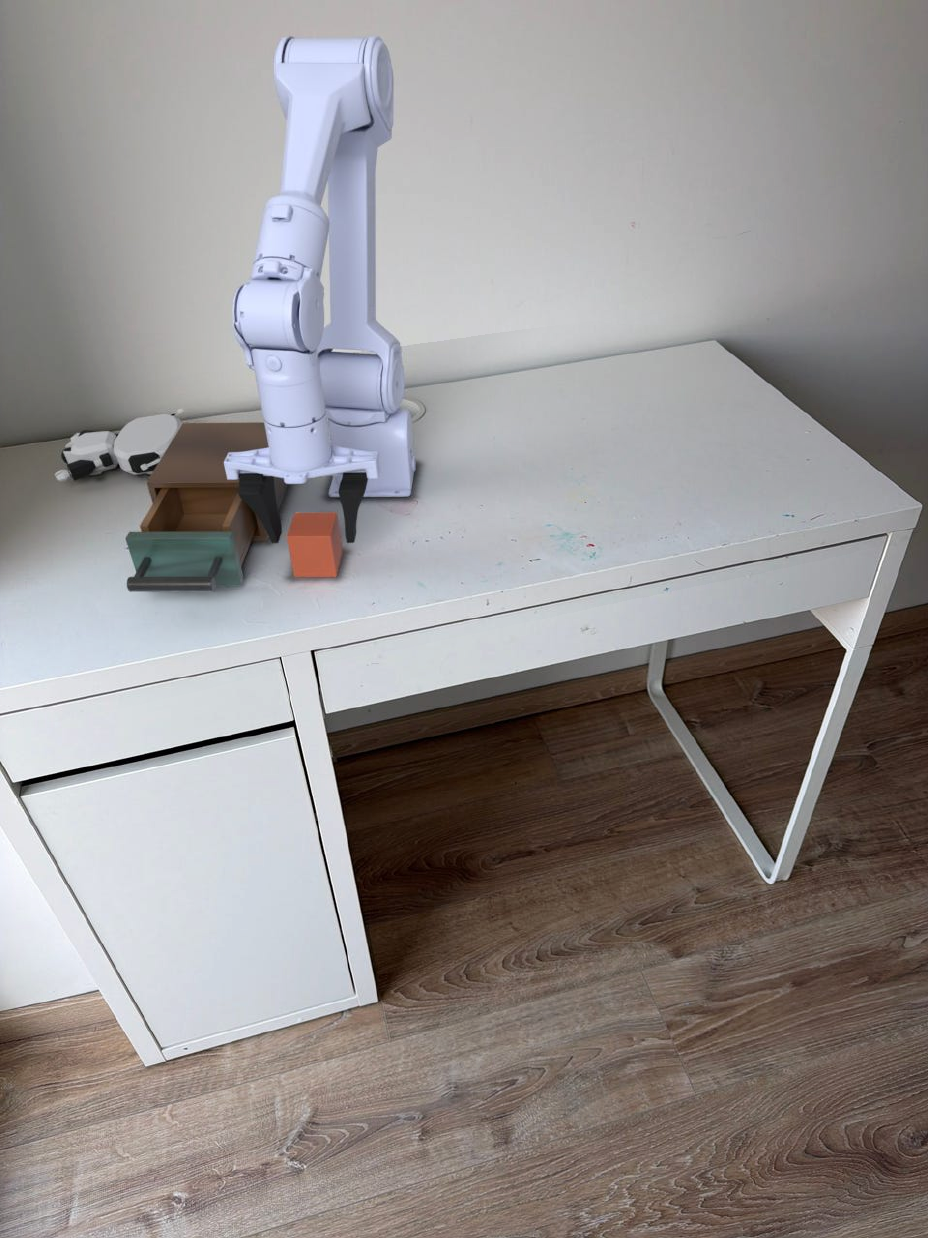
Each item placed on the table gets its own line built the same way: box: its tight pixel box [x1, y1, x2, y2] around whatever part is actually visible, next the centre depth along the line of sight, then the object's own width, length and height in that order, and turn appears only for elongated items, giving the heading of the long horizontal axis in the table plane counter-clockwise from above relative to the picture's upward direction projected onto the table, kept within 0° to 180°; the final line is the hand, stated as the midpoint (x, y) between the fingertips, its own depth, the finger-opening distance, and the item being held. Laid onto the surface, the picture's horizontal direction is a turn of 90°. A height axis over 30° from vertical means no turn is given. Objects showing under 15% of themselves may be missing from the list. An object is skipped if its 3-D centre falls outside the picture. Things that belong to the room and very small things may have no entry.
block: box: [286, 511, 344, 578], centre depth 90 cm, size 4×4×5 cm
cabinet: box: [146, 421, 289, 542], centre depth 98 cm, size 13×11×7 cm
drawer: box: [125, 487, 258, 593], centre depth 89 cm, size 17×10×6 cm, turn 178°
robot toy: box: [54, 408, 185, 482], centre depth 108 cm, size 12×4×15 cm
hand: (314, 537), depth 89 cm, fingers open, 7 cm apart
